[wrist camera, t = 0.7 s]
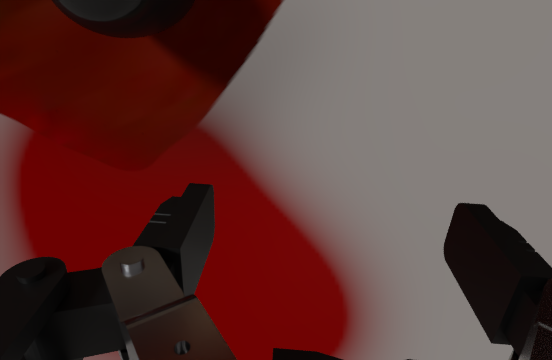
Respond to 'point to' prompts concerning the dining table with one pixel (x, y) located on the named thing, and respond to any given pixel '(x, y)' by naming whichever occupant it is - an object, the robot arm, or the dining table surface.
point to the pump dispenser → (125, 15)
